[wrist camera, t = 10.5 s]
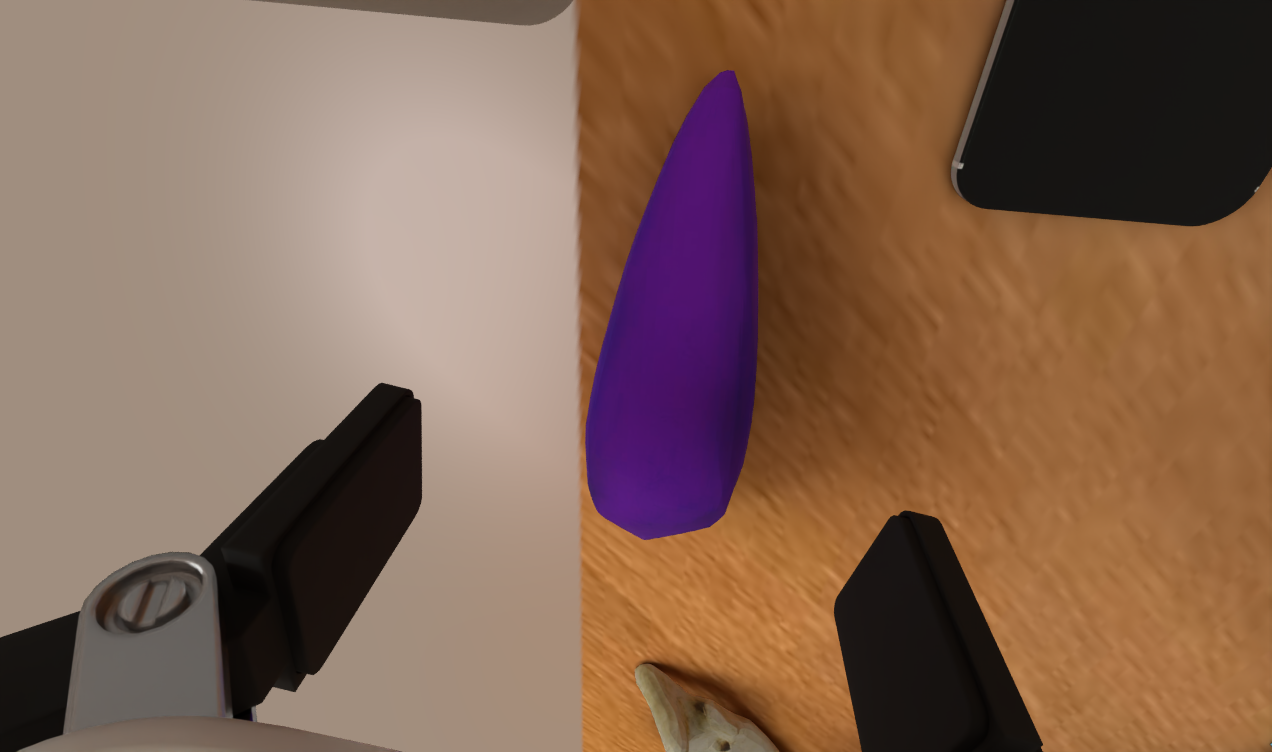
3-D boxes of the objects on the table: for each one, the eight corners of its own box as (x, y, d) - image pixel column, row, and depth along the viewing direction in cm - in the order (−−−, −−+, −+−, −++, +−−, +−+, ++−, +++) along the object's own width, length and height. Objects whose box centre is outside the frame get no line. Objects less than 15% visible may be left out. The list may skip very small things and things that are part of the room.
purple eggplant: (844, 74, 11) (715, 604, 18) (808, 86, 16) (715, 507, 22) (612, 47, 12) (569, 576, 18) (640, 66, 16) (598, 486, 22)
